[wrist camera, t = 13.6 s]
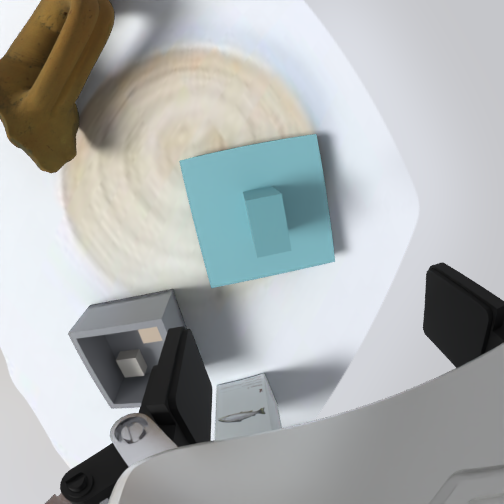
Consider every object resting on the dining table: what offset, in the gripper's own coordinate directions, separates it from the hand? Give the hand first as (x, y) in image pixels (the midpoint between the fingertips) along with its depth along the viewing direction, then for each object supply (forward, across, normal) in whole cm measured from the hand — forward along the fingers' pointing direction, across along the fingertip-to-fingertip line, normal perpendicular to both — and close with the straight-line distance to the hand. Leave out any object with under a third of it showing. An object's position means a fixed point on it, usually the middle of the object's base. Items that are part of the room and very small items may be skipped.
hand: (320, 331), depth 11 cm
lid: (+24, 0, 0) cm, 24 cm away
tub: (+24, +18, +13) cm, 32 cm away
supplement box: (+24, +7, +26) cm, 36 cm away
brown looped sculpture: (+24, +18, -24) cm, 38 cm away
